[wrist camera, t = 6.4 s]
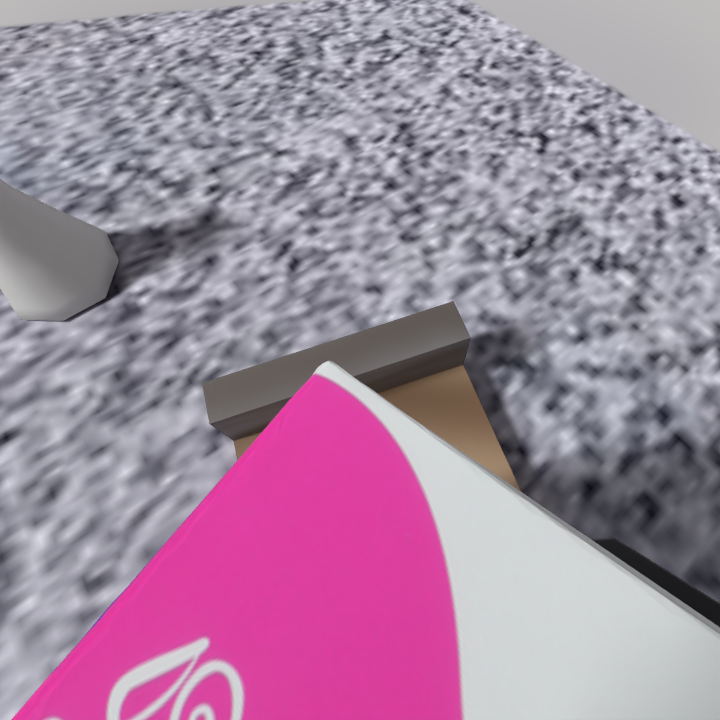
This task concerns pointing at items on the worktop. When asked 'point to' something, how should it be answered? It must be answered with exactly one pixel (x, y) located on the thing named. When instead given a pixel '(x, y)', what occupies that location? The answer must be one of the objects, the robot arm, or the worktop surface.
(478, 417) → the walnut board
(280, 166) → the worktop surface
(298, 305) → the worktop surface
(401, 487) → the supplement box
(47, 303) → the flask
